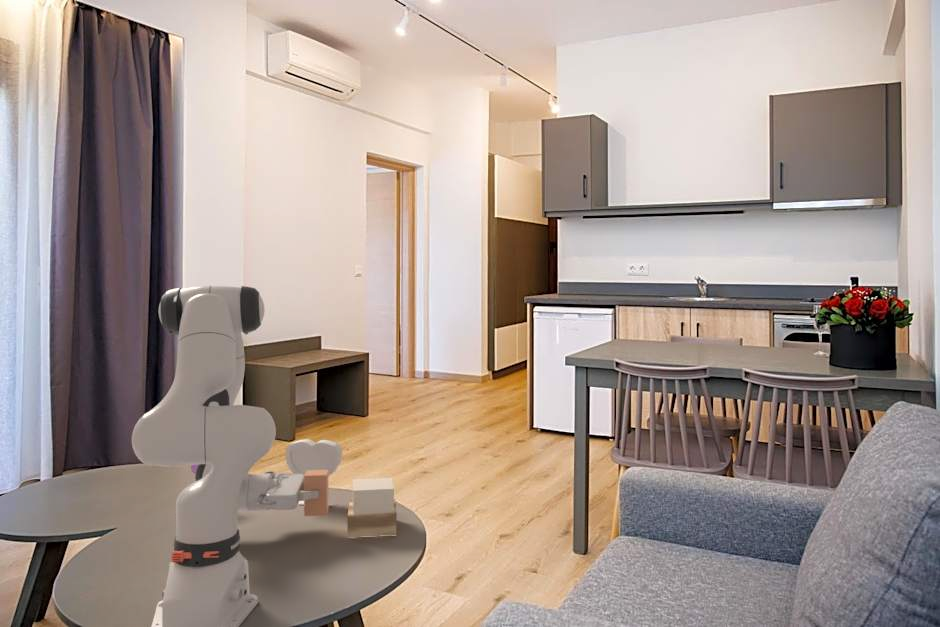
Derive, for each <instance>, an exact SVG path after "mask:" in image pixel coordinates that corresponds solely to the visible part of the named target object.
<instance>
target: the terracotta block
mask: <svg viewBox="0 0 940 627" xmlns="http://www.w3.org/2000/svg"><path fill="white" fill-rule="evenodd" d="M311 490H319V497H318V498H316V499H308V500H305V501H304V506H303V507H304V510H303V511H304V512H303V513H304V514H303V516H304V517H312V516H313V517H314V516H315V517H316V516H317V517H319V516H320V517H321V516H327V514H328V511H329V507H328V501H329V477H328V470H307V471H306V473H305V475H304V491H311Z"/></svg>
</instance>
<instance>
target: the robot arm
mask: <svg viewBox="0 0 940 627" xmlns="http://www.w3.org/2000/svg"><path fill="white" fill-rule="evenodd" d="M264 316H265V304H264V300H263V298H262V296H261V295H260V292H259V291H258V290H257V289H256V288H255V287H251V286H246V285H245V286H244V285H241V286H240V287H239V286H224V285H222V286H221V285H218V286H217V285H215V286H213V285H201V286H191V287H186V288H181V287H177V288H173V289H169V290H167V291H166V292H165V293H164V294H163V295H161V298H160V302H159V305H158V317H159V321H160V323H161V326H162V328H163V329H164V331H166V332H167V333H168V334H170V335H173V336H178V338H177V340H178V341H177V355H176V356H177V358H176V368H175V375H174V379H173V382H172V384H171V386H170V388H169V390H168V392H167V393H166V394H165V396H164V397H163V398H162V399H161V401H160V402H158V404H156V405H155V406H154V407H153V408H151V409H150V410H149V411H147V412H145V413H144V414H143V415H142V416H141V417H140V418H139V419H138V421H137V422H136V423H135V424H134V428H133V430H132V433H131V446H132V449H133V452H134V454H135V456H136V457H137V459H138V460H140V462H141V463H143V464H144V465H150V466H158V467H168V468H170V467H183V466H184V467H186V466H191V465H199V466H198V468H197V471H196V474H194V475H195V477H194V478H195V481H194V482H192V483H191V484H189V485H188V486H186V487H185V488H183V489H182V490H181V492H179V495H178V496H177V499H176V503H175V517H176V518H175V522H176V523H175V524H176V525H175V526H176V527H175V528H176V529H175V530H176V532H175V533H176V535H175V536H174V540H173V545H172V552H171V556H170V559H171V561H170V562H169V564H168V573H167V579H166V583H165V584H166V585H165V589H164V590H163V591H162V598H163V600H160V601H158V602H157V604H156V608H155V611H154V614H153V615H154V616H153V618H152V622H151V626H150V627H240V625H241V624H242V623H243V622H244V621H245V619H246V618H247V617H248V616H249V615H250V614H251V612H252V611H253V609H254V608H255V607H257V604H258V603H259V597H258V596H257V595H256V594H253V593H251V592H250V578H249V576H250V575H249V574H250V573H249V562H248V561H249V560H247V559H246V557H244V556H243V554H241V552H240V550H241V535H240V530H239V528H238V511H239V510H240V511H241V510H244V511H247V512H248V511H249V512H252V511H253V512H254V511H255V512H258V511H269V510H272V511H273V510H275V511H277V510H278V511H279V510H280V511H283V510H284V511H286V510H287V511H289V510H294V509H297V508H298V506H299V505H298V503H299V501H305V500H308V499H316V498H318V497H319V490H311V491H304V475H303V474H298V473H292V472H278V473H277V472H276V471H275V470H269V471H266V472H264V473H263V472H262V473H249V472H250V471H251V469H252V468H253V467H254V465H255V464H256V463H257V462H259V461H260V460H261V459H262V458H264V457H265V456H266V455H268V453H269V452H270V450H271V449H272V447H273V445H274V442H275V440H276V435H277V434H276V433H277V428H276V424H275V421H274V419H273V417H272V415H271V414H270V413H269V411H268V410H266V408H264V407H260V406H252V405H246V404H235V401H236V398H237V396H238V394H239V393H240V392H239V391H240V390H241V388H242V385H243V383H244V380H245V379H244V377H245V369H246V354H245V347H244V346H245V345H244V339H243V334H244V335H248V334H249V333H252V332H255V331H257V329H259V327H261V325H262V321H263V320H264ZM234 404H235V405H234Z"/></svg>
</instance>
